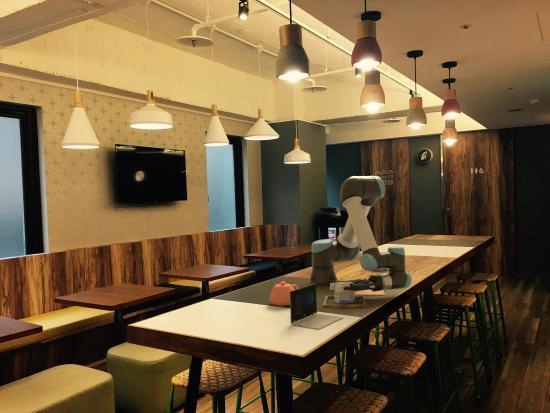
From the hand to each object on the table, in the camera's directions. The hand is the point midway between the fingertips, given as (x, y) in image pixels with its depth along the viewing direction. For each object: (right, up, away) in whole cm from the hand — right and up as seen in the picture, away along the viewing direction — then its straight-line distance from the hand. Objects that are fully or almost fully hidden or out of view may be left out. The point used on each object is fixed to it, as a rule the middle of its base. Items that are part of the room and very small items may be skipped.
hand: (333, 287), depth 202 cm
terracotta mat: (+20, -6, +20) cm, 29 cm away
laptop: (-10, -9, -27) cm, 30 cm away
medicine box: (+5, -7, +2) cm, 9 cm away
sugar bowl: (-21, -8, +3) cm, 23 cm away
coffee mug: (+40, -4, +84) cm, 93 cm away
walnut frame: (+5, -7, +2) cm, 9 cm away
